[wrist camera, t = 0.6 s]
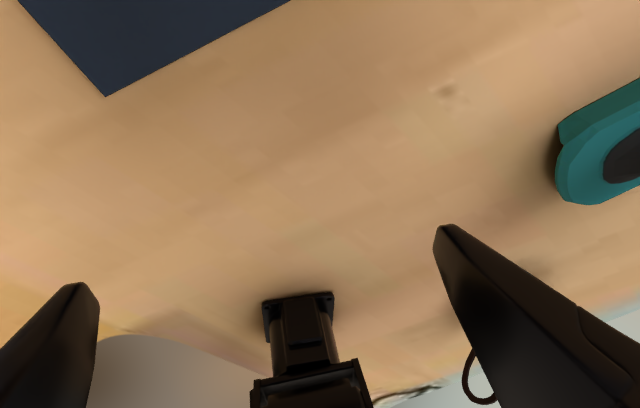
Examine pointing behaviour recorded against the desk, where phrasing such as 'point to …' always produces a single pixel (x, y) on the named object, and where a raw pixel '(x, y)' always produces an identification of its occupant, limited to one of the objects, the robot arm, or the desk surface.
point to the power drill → (601, 148)
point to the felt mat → (137, 32)
